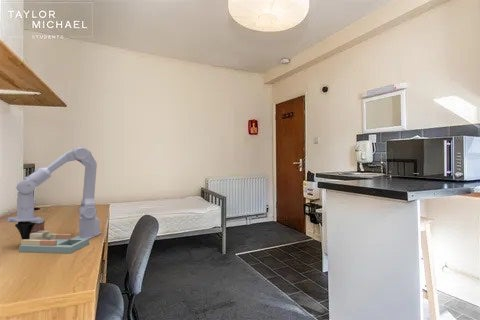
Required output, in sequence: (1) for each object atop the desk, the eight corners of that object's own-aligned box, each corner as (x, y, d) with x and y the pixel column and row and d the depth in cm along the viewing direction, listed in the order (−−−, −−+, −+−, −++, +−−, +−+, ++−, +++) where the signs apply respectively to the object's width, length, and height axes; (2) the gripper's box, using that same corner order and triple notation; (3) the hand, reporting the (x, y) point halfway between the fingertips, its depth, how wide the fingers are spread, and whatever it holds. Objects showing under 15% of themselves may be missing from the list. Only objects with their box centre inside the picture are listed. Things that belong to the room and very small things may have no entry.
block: (39, 239, 118) (39, 230, 118) (50, 239, 117) (50, 230, 117) (29, 243, 113) (29, 233, 113) (41, 243, 112) (41, 234, 112)
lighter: (43, 235, 133) (43, 215, 133) (45, 236, 131) (45, 216, 131) (23, 238, 127) (23, 217, 127) (25, 240, 125) (25, 218, 125)
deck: (42, 242, 121) (42, 232, 121) (89, 243, 120) (89, 234, 120) (19, 251, 109) (19, 241, 109) (70, 253, 108) (70, 242, 108)
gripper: (0, 209, 112) (0, 241, 112) (33, 209, 111) (33, 242, 111) (16, 206, 119) (16, 236, 119) (47, 206, 118) (47, 237, 118)
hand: (25, 239), depth 115 cm, fingers closed
